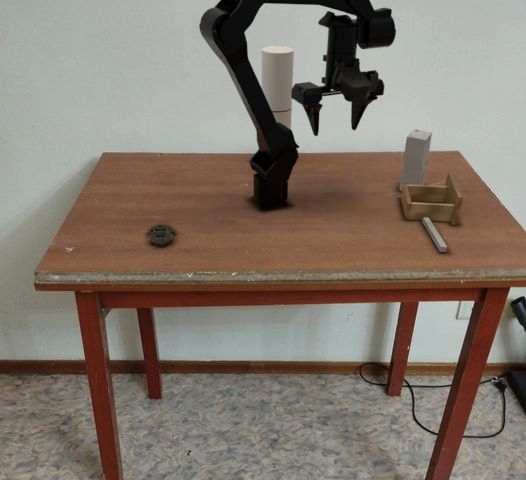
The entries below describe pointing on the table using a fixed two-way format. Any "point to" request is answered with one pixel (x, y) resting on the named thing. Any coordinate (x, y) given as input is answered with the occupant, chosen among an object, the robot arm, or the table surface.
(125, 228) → the table surface
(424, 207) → the wooden tray frame
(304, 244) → the table surface
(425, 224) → the ruler
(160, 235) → the corroded twin loop
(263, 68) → the cylindrical container
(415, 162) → the cosmetic box
